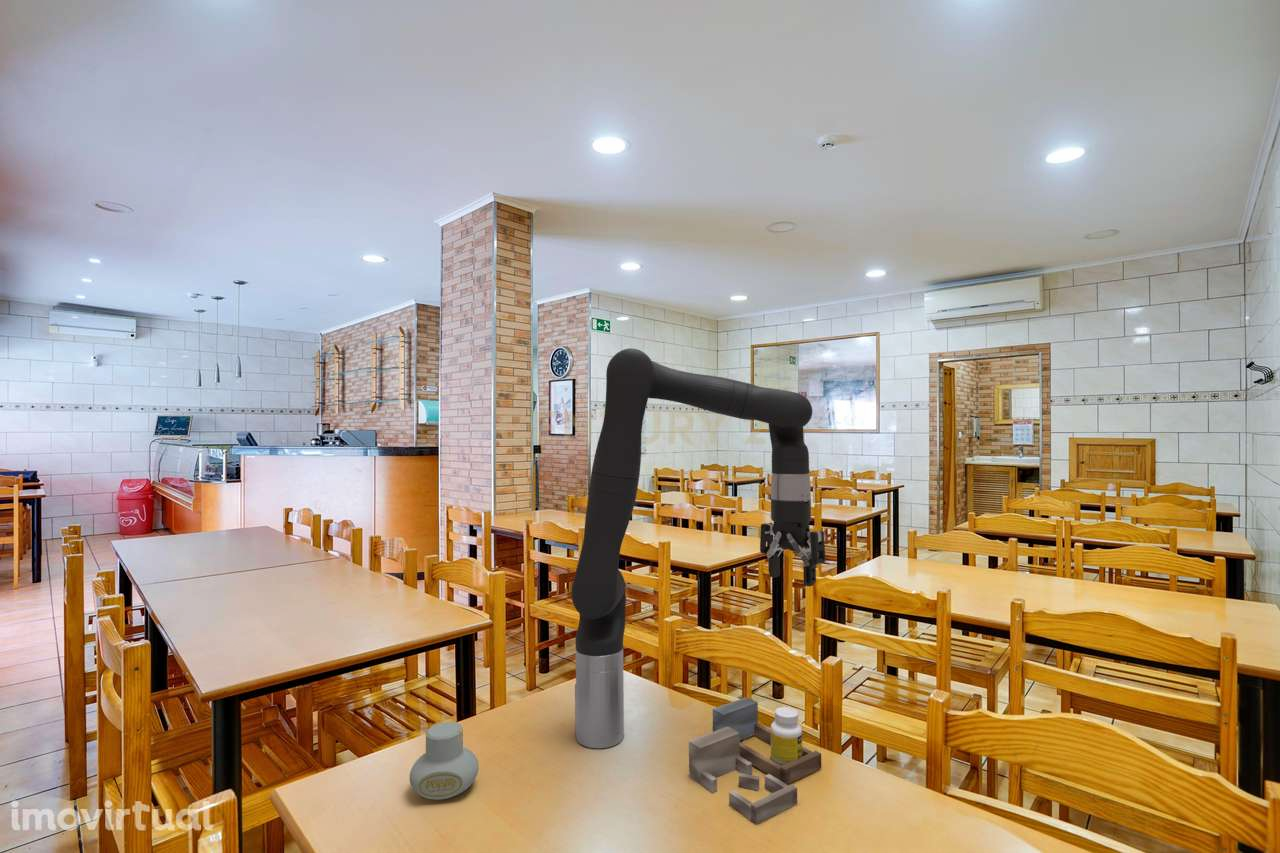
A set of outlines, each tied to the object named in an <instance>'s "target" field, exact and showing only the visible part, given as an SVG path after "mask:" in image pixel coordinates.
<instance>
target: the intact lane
mask: <svg viewBox="0 0 1280 853" xmlns="http://www.w3.org/2000/svg"><path fill="white" fill-rule="evenodd" d="M758 703H759V702H758V701H756V700H755V699H752V698H750V697H748V696H746V697H743V698H740V699H737V700H733V701H732V702H729V703H726V704H722V705H720V706H719V705H718V706H717V707H716V706H715V707H713V708H712V732H714V731H717V730H719V729H722V728H725V727H730V728H732V729H733V730H735V731H737V732H739V734H740V741H742V740H745V739H747V738H750V737H752V736H756V737H758V738H759V739H761V740H763V741H765V742H766V743H769V744H770V745H771V728H768V727H766V726H764V725H762V724H761V723H759V708H758V707H759V704H758ZM740 756H741V757H742V758H744V759H746V760H747V761H749V762H751V763H752V766H754V767H755V768H757V769H759V770H760V771H762V772H764V773H765V774H766V775H768V774H770V775H772V776H773V777H775V778H777V779H778V780H780V781H782V782H783V783H785V784H787V785H789V784H792V783H793V782H795V781H797V780H800V779H802V778H804V777H806V776H808V775H810V774H812V773H814V772H817V771H818V770H820V769H821V768H822V753H821V752H819V751H818V750H814V751H811V750H810V749H808V748H806V747H804V746H802V757H801V758H798V759H796V760H794V761H792V762H790V763H787V764H785V765H783V766H780V765H778V764H777V763H775V762H773V761H772V760H771V758H768V757H766V756H764V755H763V754H761V753H759V752H758V751H756V750H755V749H753V748H751V747H749V746H747V745H746V744H744V743H743V742H740Z"/></svg>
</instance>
